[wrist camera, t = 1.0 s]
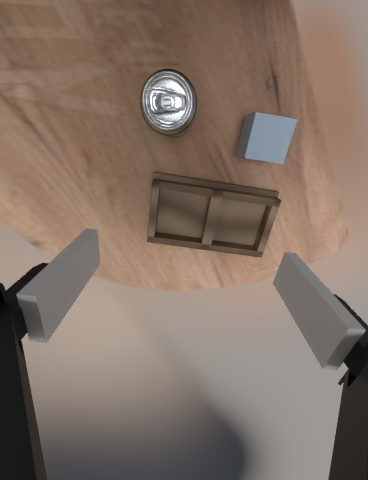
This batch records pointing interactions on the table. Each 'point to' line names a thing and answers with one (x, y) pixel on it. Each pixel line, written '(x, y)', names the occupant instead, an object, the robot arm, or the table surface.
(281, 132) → the block
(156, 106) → the soda can
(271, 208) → the caddy
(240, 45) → the table surface
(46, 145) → the table surface
